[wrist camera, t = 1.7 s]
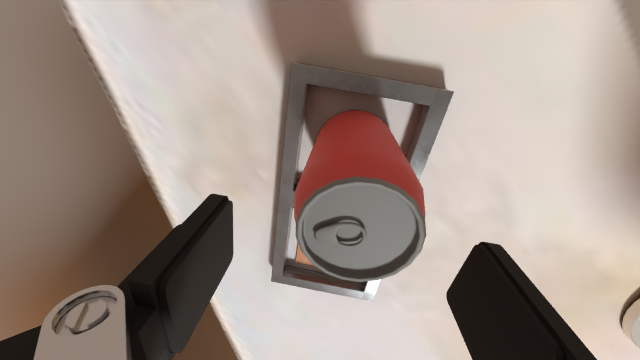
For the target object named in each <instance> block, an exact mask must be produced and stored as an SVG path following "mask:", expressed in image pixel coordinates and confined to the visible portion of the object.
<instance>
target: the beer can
mask: <svg viewBox="0 0 640 360" xmlns="http://www.w3.org/2000/svg"><path fill="white" fill-rule="evenodd" d="M294 218H295V221H296V238H297V241H298V244H299V246H300V249H301V251H302V253H303V254H304V255H305V256H306V257H307V259H308V260H309V261H310V262H311V264H313V265H314V266H316V267H317V268H319V269H320V270H322V271H323V272H324V273H326V274H329V275H332V276H334V277H337V278H340V279H342V280H350V281H357V282H364V281H375V280H380V279H383V278H386V277H389V276H392V275H395V274H397V273H398V272H400V271H401V270H403V269H404V268H406V267H407V266H409V265H410V264H411V263H412V262H413V260H414V259H415V258H416V257H417V255H418V254H419V253H420V252H421V250H422V246H423V243H424V240H425V237H426V227H425V206H424V194H423V188H422V186H421V184H420V182H419V180H418V178H417V176H416V174H415V172H414V171H413V169H412V167H411V165H410V164H409V162H408V160H407V159H406V157H405V155H404V153H403V152H402V150H401V148H400V147H399V145H398V143H397V141H396V140H395V138H394V136H393V135H392V133H391V131H390V129H389V128H388V126H387V125H386V124H385V123H384V122H383V121H382V120H381V119H380V118H379V117H378V116H376V115H374V114H371V113H369V112H367V111H359V110H350V111H346V112H342V113H339V114H337V115H335V116H334V117H332V118H331V119H329V120H328V121H327V122H326V123H325V124H324V126H323V127H322V128H321V129H320V132H319V134H318V136H317V139H316V141H315V144H314V146H313V149H312V151H311V154H310V156H309V159H308V161H307V163H306V166H305V168H304V171H303V173H302V176H301V178H300V181H299V183H298V186H297V188H296V191H295V198H294Z"/></svg>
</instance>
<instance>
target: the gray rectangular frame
mask: <svg viewBox="0 0 640 360" xmlns="http://www.w3.org/2000/svg"><path fill="white" fill-rule="evenodd" d="M308 84H311V85H317V86H323V87H328V88H334V89H339V90H345V91H350V92H356V93H362V94H367V95H373V96H378V97H384V98H389V99H395V100H400V101H406V102H412V103H417V104H423V105H424V106H423V109H422V112H421V115H420V118H419V121H418V124H417V127H416V130H415V133H414V135H413V138H412V141H411V144H410V147H409V150H408V153H407V156H406V159H407V160H408V162H409V164H410V165H411V167H412V169H413V171H414V172H415V174H416V176H417V178H418V180H420V177H421V175H422V172H423V170H424V167H425V164H426V162H427V159H428V157H429V154H430V152H431V149H432V146H433V144H434V141H435V139H436V136H437V134H438V131H439V129H440V126H441V123H442V121H443V118H444V116H445V113H446V111H447V108H448V105H449V103H450V100H451V98H452V95H453V93H454V91H450V90H447V89H442V88H437V87H431V86H425V85H420V84H414V83H408V82H403V81H397V80H392V79H386V78H380V77H375V76H369V75H364V74H358V73H352V72H347V71H341V70H335V69H330V68H324V67H319V66H313V65H307V64H302V63H296V62H294V63H291V72H290V83H289V94H288V105H287V115H286V126H285V137H284V148H283V159H282V170H281V180H280V191H279V202H278V213H277V224H276V235H275V245H274V256H273V267H272V278H271V281H272V282H277V283H282V284H287V285H292V286H297V287H302V288H307V289H312V290H317V291H322V292H327V293H333V294H338V295H343V296H348V297H353V298H358V299H363V300H368V301H373V298H374V295H375V293H376V290H377V288H378V285H379V283H380V280H381V279H380V280H375V281H364V282H357V281H350V280H342V279H340V278H337V277H334V276H332V275H329V274H325V273H320V272H315V271H310V270H305V269H300V268H295V267H290V266H286V258H287V250H288V242H289V234H290V227H291V219H292V211H293V208H294V198H295V191H296V188H297V186H298V184H296V179H297V171H298V163H299V155H300V147H301V139H302V131H303V124H304V116H305V108H306V100H307V92H308ZM296 262H298V263H303V264H308V265H313V264H311V262H310V261H309V260H308V259H307V257H306V256H305V255H304V254H303V253H302V251H301V249H300V246H299V244H298V249H297V255H296ZM313 266H314V265H313Z"/></svg>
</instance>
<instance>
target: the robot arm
mask: <svg viewBox="0 0 640 360" xmlns="http://www.w3.org/2000/svg"><path fill="white" fill-rule="evenodd" d="M232 258H233V203H232V201H229V200H228V197H227V196H223V195H217V194H210V195H209V196H208V197H207V198H206V199H205V200H204V201H203V202H202V204H201V205H200V206H199V207H198V208H197V209H196V210H195V211H194V212H193V213H192V214H191V215H190V216H189V217H188V218H187V219H186V220H185V221H184V222H183V223H182V224H180V225H178V226H176V227H175V228H174V229H173V230H172V231H171V232H170V233H169V234H168V235H167V236H166V237H165V238H164V240H162V241H161V242H160V243H159V245H157V247H156V248H155V249H154V250H153V251H152V252H151V253H150V254H149V255H148V256H147V257H146V258H145V259H144V260H143V261H142V262H141V263H140V264H139V265H138V266H137V267H136V268H135V269H134V270H133V271H132V272H131V273H130V274H129V275H128V276H127V277H126V278H125V279H124V280H123V281H122V282H121V283H120V284H119V285H118V286H117V287H114V286H111V285H100V286H95V287H90V288H87V289H85V290H82V291H79V292H77V293H75V294H73V295H71V296H70V297H68V298H66V299H64V300H63V301H62V302H61V303H59V304H58V305H57V306H56V307H54V309H52V311H51V312H50V313H49V314H48V315H47V316H46V318H45V320H44V322H43V324H42V325H41V326H38V327H36V328H33V329H31V330H28V331H25V332H23V333H20V334H18V335H15V336H13V337H10V338H7V339H5V340H2V341H0V360H172V359H173V357H174V356H175V353H176V352H177V353H180V352H182V350H183V349H184V347H185V346H186V344H187V342H188V341H189V339H190V337H191V335H192V333H193V331H194V329H195V328H196V326H197V324H198V322H199V320H200V318H201V316H202V315H203V312H204V311H205V309H206V307H207V305H208V304H209V302H210V300H211V298H212V296H213V294H214V292H215V291H216V289H217V287H218V285H219V283H220V281H221V280H222V278H223V276H224V274H225V272H226V270H227V268H228V267H229V265H230V263H231V261H232ZM447 301H448V304H449V306H450V308H451V311H452V313H453V315H454V318H455V320H456V322H457V325H458V327H459V329H460V332H461V334H462V336H463V339H464V341H465V343H466V346H467V348H468V350H469V353H470V355H471V357H472V360H597V359H596V358H595V357H594V355H593V354H592V353H591V352H590V351H589V350H588V348H587V347H586V346H585V345H584V344H583V342H582V341H581V340H580V339H579V338H578V336H577V335H576V334H575V333H574V332H573V330H572V329H571V328H570V327H569V326H568V325H567V323H566V322H565V321H564V320H563V319H562V317H561V316H560V315H559V314H558V313H557V311H556V310H555V309H554V308H553V307H552V305H551V304H550V303H549V302H548V301H547V300H546V298H545V297H544V296H543V295H542V294H541V292H540V291H539V290H538V289H537V288H536V286H535V285H534V284H533V283H532V282H531V280H530V279H529V278H528V277H527V276H526V275H525V273H524V272H523V271H522V270H521V269H520V267H519V266H518V265H517V264H516V263H515V261H514V260H513V259H512V258H511V257H510V255H509V254H508V253H507V252H506V251H505V250H504V248H503V247H502V246H501V245H498V244H493V243H487V242H481V243H479V244H478V245H475V246H474V247H473V249H472V251H471V252H470V254H469V256H468V257H467V259H466V261H465V262H464V264H463V266H462V267H461V269H460V271H459V272H458V274H457V276H456V277H455V279H454V281H453V282H452V284H451V286H450V287H449V289H448V291H447ZM622 327H623V331H624V333H625V334H626V336H627V337H628V338H629V339H630V340H631V341H632V342H633V343H634V344H635V345H636V346H637V347H639V348H640V298H639V299H637V300H636V301H635V302H634V303H633V304H632V305H631V306H630V307H629V308H628V310H627V311H626V313H625V315H624V317H623V322H622Z"/></svg>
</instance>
